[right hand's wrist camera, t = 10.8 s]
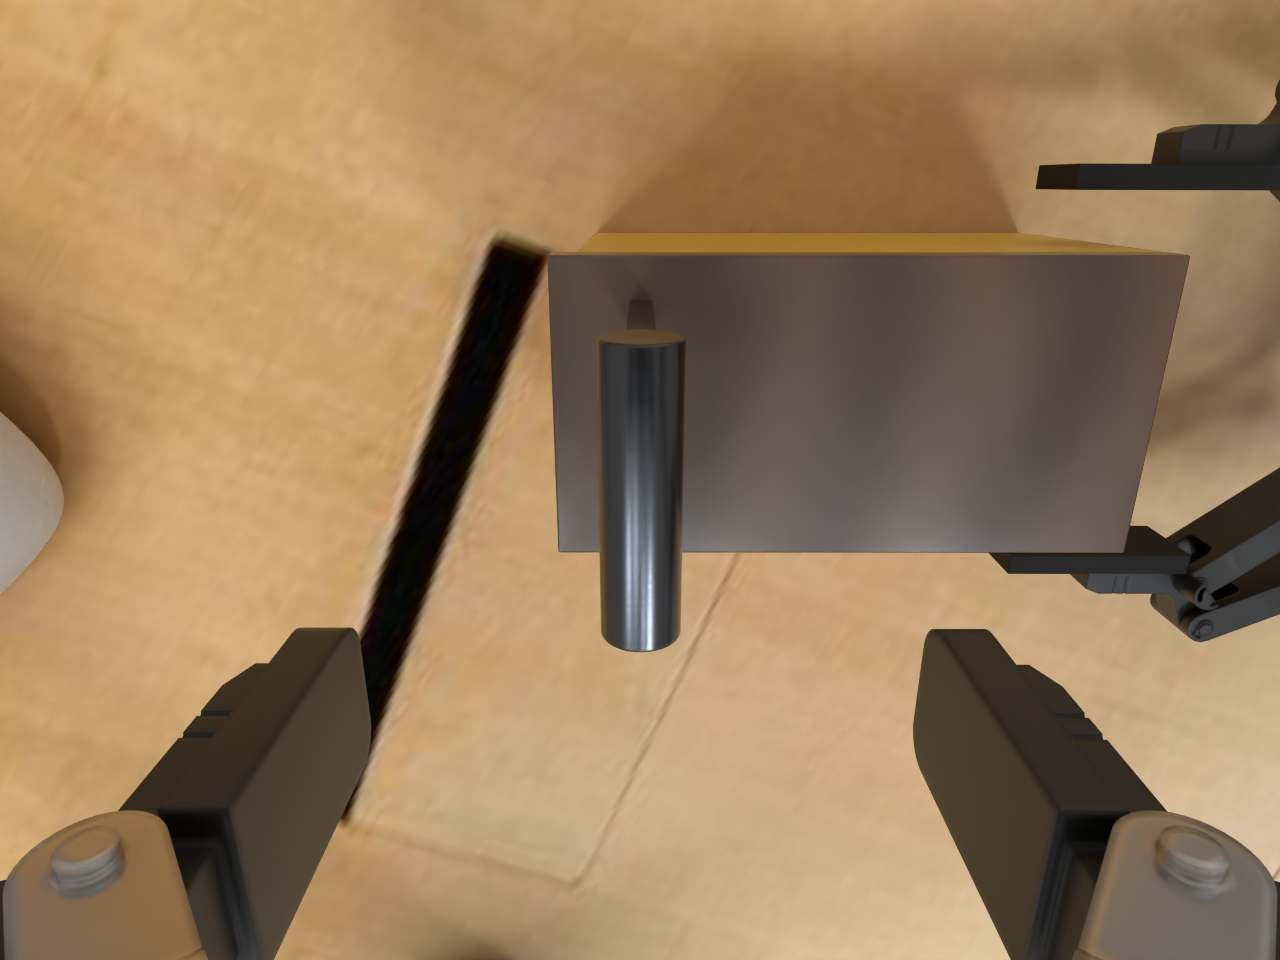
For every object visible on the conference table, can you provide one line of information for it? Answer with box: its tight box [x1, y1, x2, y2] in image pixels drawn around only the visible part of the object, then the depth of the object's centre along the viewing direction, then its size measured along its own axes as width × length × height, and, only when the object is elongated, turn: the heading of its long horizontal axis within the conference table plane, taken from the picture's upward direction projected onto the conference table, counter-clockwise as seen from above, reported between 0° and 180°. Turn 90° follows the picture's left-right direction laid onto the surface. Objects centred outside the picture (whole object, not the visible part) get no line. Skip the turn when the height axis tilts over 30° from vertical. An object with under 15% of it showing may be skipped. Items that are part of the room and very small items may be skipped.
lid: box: [547, 252, 1190, 652], centre depth 22 cm, size 18×9×9 cm, turn 90°
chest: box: [579, 233, 1160, 252], centre depth 31 cm, size 18×9×10 cm, turn 90°
